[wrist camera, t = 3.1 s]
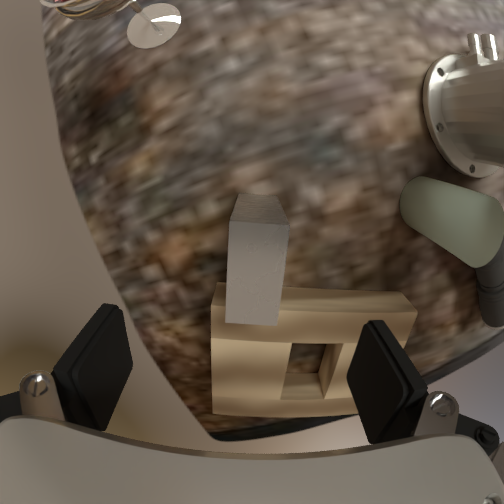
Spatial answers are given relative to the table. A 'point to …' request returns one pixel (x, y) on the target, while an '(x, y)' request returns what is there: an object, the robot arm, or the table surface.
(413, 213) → the round bit
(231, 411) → the socket block
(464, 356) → the table surface
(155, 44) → the wineglass
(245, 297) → the block
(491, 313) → the flashlight
